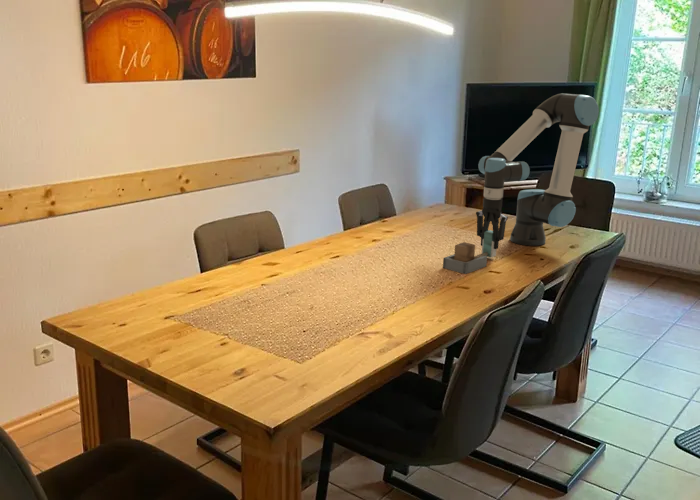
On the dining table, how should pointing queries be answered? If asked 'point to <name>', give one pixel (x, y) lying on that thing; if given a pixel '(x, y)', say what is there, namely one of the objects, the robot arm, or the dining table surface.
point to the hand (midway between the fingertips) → (488, 255)
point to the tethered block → (473, 249)
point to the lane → (464, 264)
